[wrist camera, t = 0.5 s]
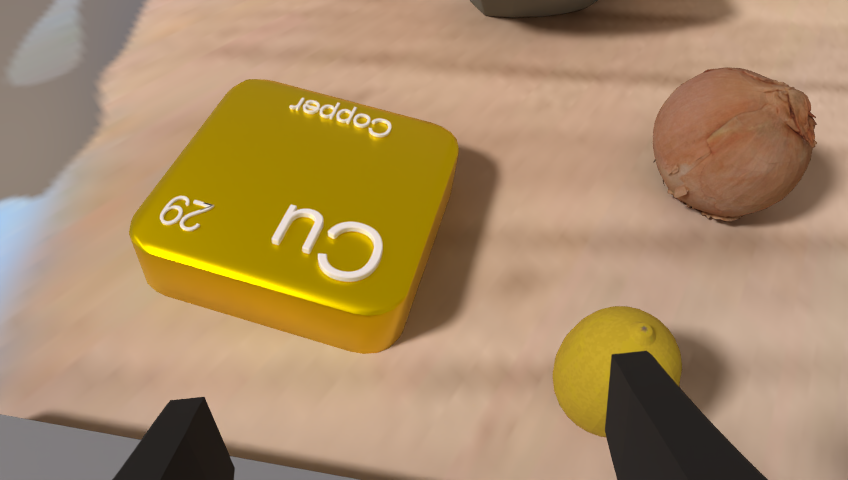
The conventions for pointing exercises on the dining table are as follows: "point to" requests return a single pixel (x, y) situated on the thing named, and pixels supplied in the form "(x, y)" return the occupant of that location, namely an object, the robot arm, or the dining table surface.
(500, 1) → the bowl
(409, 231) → the element tile
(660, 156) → the onion
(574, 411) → the lemon
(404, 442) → the dining table surface
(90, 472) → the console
